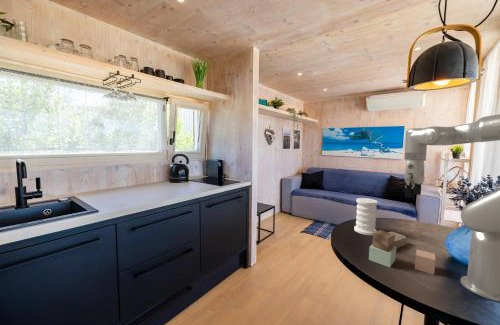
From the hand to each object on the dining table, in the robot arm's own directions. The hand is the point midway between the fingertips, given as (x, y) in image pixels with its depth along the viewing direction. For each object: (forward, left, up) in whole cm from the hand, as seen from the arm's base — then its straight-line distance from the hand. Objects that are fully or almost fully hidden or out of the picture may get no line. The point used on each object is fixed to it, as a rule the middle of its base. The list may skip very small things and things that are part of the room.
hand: (412, 196), depth 97 cm
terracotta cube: (-8, +7, -28) cm, 29 cm away
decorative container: (+25, -12, -28) cm, 39 cm away
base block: (+5, +14, -28) cm, 31 cm away
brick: (+10, -5, -28) cm, 30 cm away
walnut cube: (+5, +14, -22) cm, 26 cm away
